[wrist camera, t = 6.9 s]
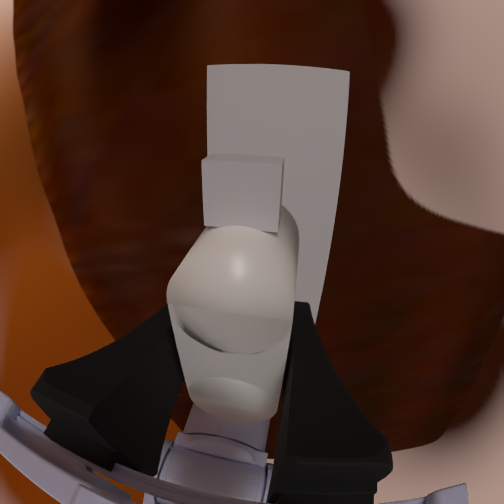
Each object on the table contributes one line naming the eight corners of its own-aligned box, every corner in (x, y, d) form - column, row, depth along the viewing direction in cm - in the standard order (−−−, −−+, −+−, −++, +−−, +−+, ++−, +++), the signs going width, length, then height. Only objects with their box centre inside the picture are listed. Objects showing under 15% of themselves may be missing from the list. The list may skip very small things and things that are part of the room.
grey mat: (311, 336, 24) (311, 341, 23) (218, 324, 25) (216, 328, 24) (348, 72, 14) (349, 71, 13) (210, 66, 15) (207, 65, 14)
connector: (284, 354, 15) (273, 427, 11) (218, 345, 16) (194, 413, 12) (308, 149, 10) (309, 186, 6) (208, 143, 10) (149, 177, 6)
